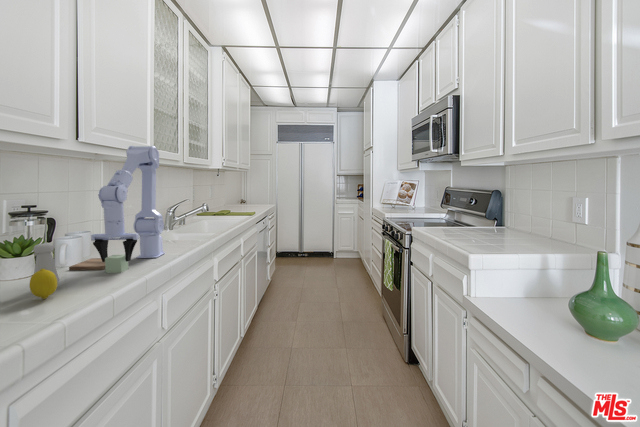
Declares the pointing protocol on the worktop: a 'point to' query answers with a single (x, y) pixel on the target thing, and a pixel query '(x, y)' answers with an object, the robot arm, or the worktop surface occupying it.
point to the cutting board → (89, 265)
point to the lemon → (43, 283)
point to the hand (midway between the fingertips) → (116, 261)
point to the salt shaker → (45, 258)
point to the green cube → (116, 264)
